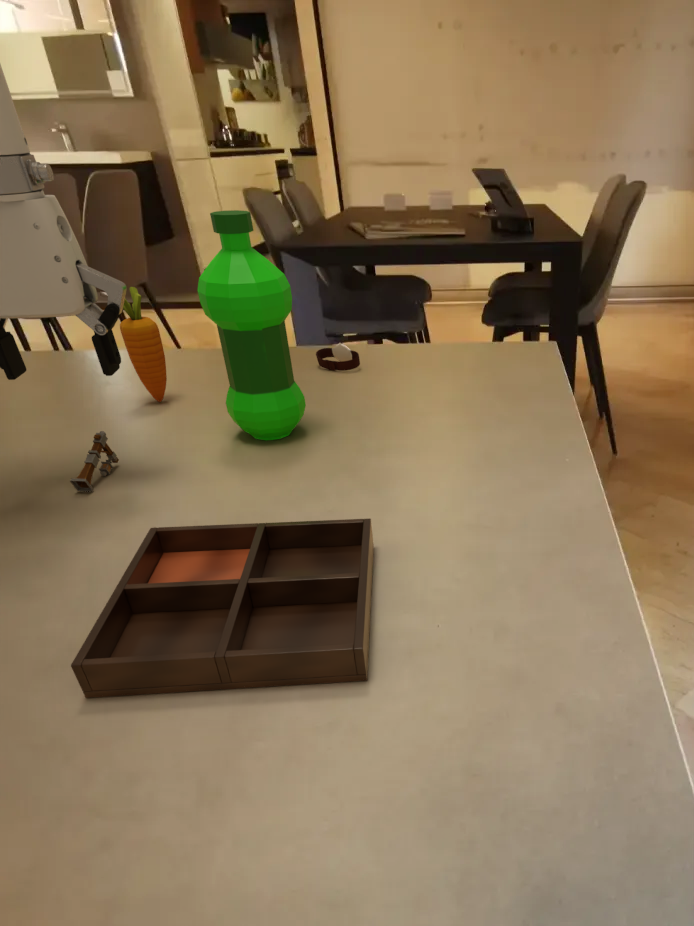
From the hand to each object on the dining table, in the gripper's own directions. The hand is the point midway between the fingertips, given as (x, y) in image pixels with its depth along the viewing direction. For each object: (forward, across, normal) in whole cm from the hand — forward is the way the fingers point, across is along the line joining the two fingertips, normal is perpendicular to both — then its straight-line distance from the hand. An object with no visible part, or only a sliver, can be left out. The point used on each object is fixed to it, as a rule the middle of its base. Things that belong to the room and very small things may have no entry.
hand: (65, 373), depth 74 cm
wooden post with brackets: (+12, +1, 0) cm, 12 cm away
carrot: (+12, +1, -27) cm, 30 cm away
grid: (+12, -21, +29) cm, 38 cm away
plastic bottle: (+12, -17, -13) cm, 25 cm away
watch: (+13, -24, -42) cm, 50 cm away
